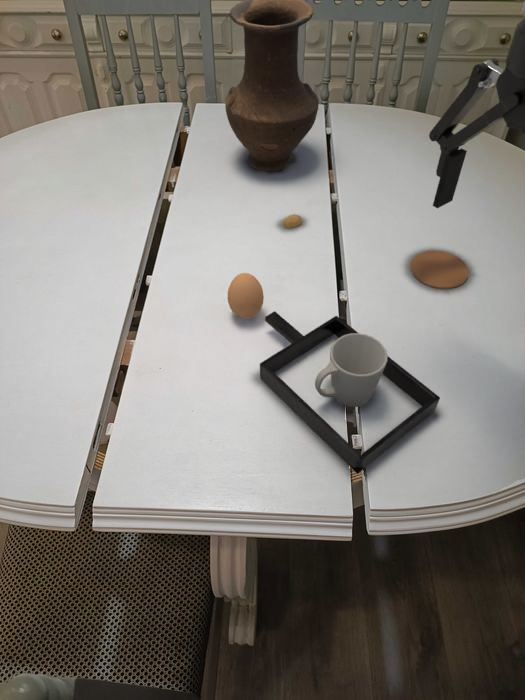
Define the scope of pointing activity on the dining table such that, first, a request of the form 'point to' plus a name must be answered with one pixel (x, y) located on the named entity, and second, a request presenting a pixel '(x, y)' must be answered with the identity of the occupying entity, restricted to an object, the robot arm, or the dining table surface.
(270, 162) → the vase
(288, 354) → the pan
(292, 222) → the potato
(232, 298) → the egg
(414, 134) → the dining table surface
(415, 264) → the coaster
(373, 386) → the cup
